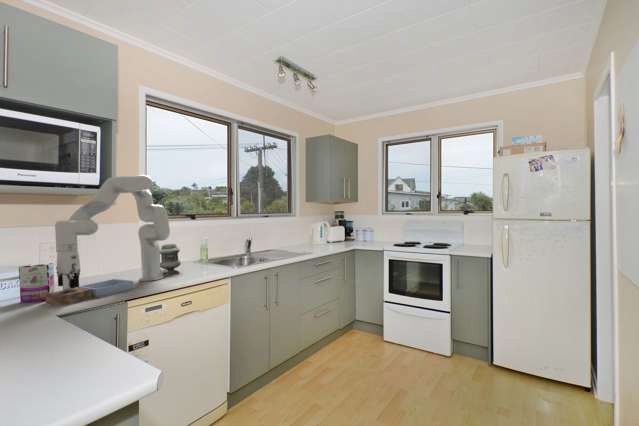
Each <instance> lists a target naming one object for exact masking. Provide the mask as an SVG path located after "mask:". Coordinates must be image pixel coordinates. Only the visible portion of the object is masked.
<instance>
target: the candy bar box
mask: <svg viewBox="0 0 639 426" xmlns="http://www.w3.org/2000/svg"><path fill="white" fill-rule="evenodd" d="M18 278H19V295H20V296H19V297H20V303H21V302H26V303H34V302H35V303H36V302H44V301H45V302H46V294H48V293H52V292H56V291H55V290H56V289H55V287H56V286H55V269H54V262H49V263H48V262H46V263H32V264H23V265H20V266H18Z"/></svg>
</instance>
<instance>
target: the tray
mask: <svg viewBox="0 0 639 426" xmlns="http://www.w3.org/2000/svg"><path fill="white" fill-rule="evenodd" d="M77 288H84V289H91V296H92V298H94V299H98V298H102V297H106V296H110V295H115V294H119V293H123V292H126V291H131V290H134V288H135V287H134V280H130V279H121V278H120V279H119V278H112V279H107V280H102V281H101V280H100V281H98V282H93V283H91V282H90V283H88V284H83V285H79V287H77Z"/></svg>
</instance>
